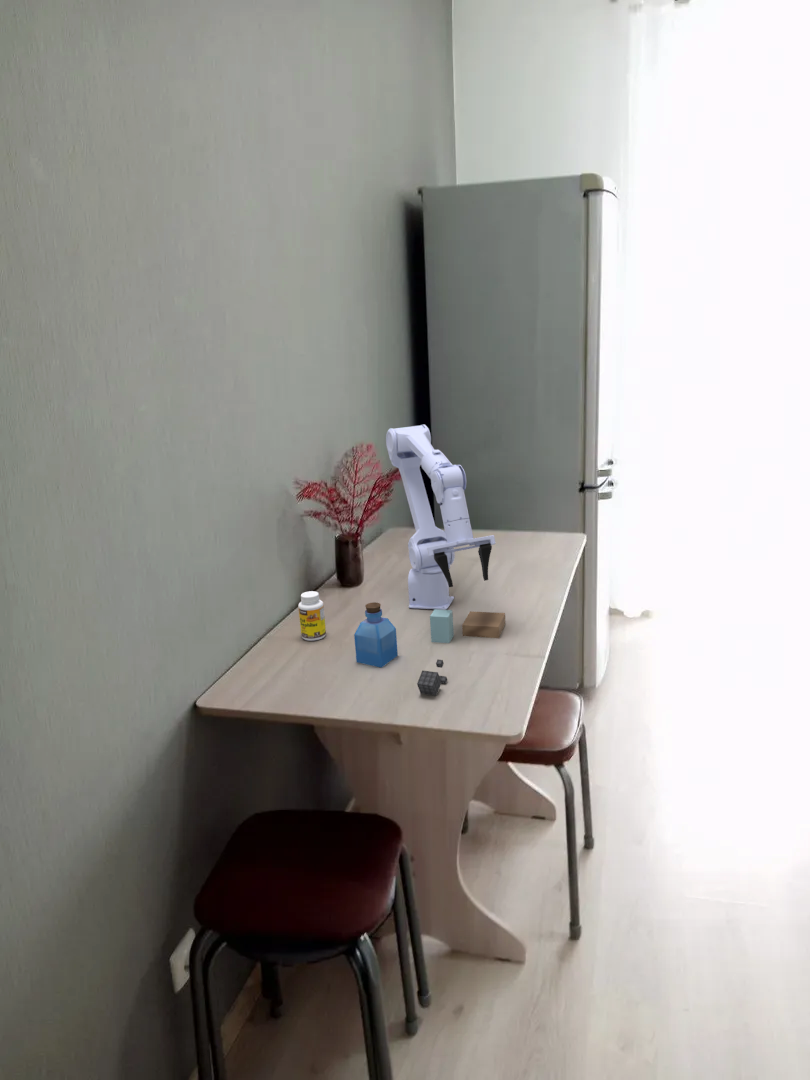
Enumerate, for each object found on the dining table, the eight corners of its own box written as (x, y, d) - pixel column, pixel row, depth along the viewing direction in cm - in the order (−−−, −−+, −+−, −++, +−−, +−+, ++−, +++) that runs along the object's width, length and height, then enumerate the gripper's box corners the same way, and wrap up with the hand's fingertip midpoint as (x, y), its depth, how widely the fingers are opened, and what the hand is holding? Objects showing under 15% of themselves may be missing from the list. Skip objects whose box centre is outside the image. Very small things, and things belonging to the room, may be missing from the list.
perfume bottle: (381, 667, 165) (377, 612, 162) (356, 662, 169) (351, 608, 165) (397, 655, 170) (393, 602, 167) (373, 650, 174) (369, 598, 170)
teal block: (431, 642, 176) (429, 616, 174) (436, 634, 180) (434, 609, 178) (449, 643, 175) (447, 617, 173) (453, 635, 178) (452, 610, 177)
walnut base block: (462, 637, 178) (462, 625, 177) (470, 623, 185) (469, 611, 184) (498, 639, 176) (498, 627, 175) (505, 625, 183) (505, 613, 182)
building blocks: (416, 683, 151) (429, 650, 157) (423, 701, 155) (436, 668, 160) (432, 686, 150) (445, 652, 155) (439, 703, 154) (451, 670, 159)
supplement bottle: (297, 641, 181) (292, 597, 178) (307, 631, 186) (303, 589, 183) (320, 642, 180) (316, 599, 177) (330, 632, 185) (326, 590, 182)
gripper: (424, 525, 171) (436, 589, 170) (491, 513, 172) (504, 576, 171) (422, 529, 178) (434, 590, 177) (487, 517, 179) (499, 577, 178)
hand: (468, 583), depth 174 cm, fingers open, 7 cm apart
